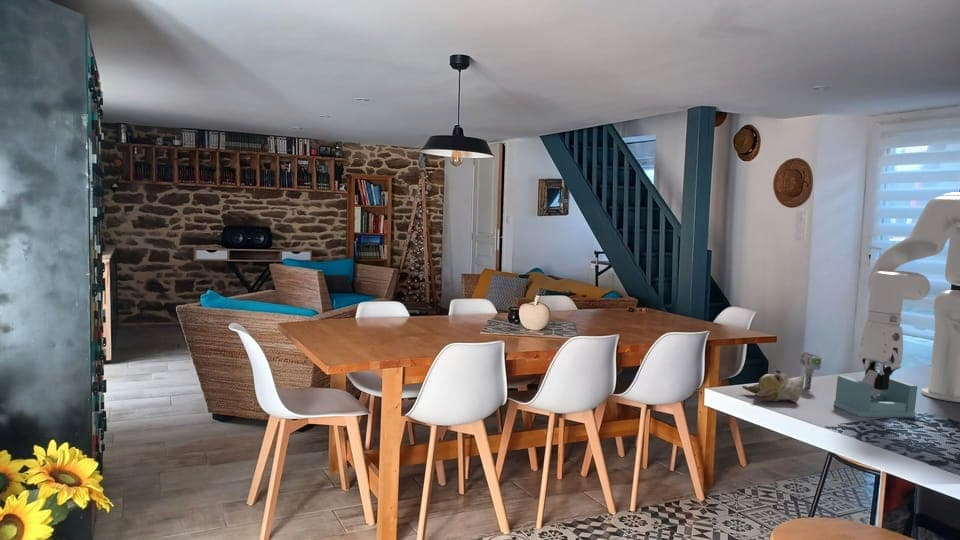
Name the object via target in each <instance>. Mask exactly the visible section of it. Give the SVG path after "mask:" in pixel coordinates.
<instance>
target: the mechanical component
mask: <svg viewBox="0 0 960 540" xmlns="http://www.w3.org/2000/svg"><path fill="white" fill-rule="evenodd" d="M799 357H800V358H799V363H800V365H801V366H803V367H804V373H805V379H804V388H805V389H807V388H810V389H811V387H812V379H813V378H812V376H813V374H815V370H816V371H819V370H821V365H822V359H823V358H822V357H820V356H818V355H817V354H813V353H809V352H807V351H803V352H801V354H800V356H799Z"/></svg>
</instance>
